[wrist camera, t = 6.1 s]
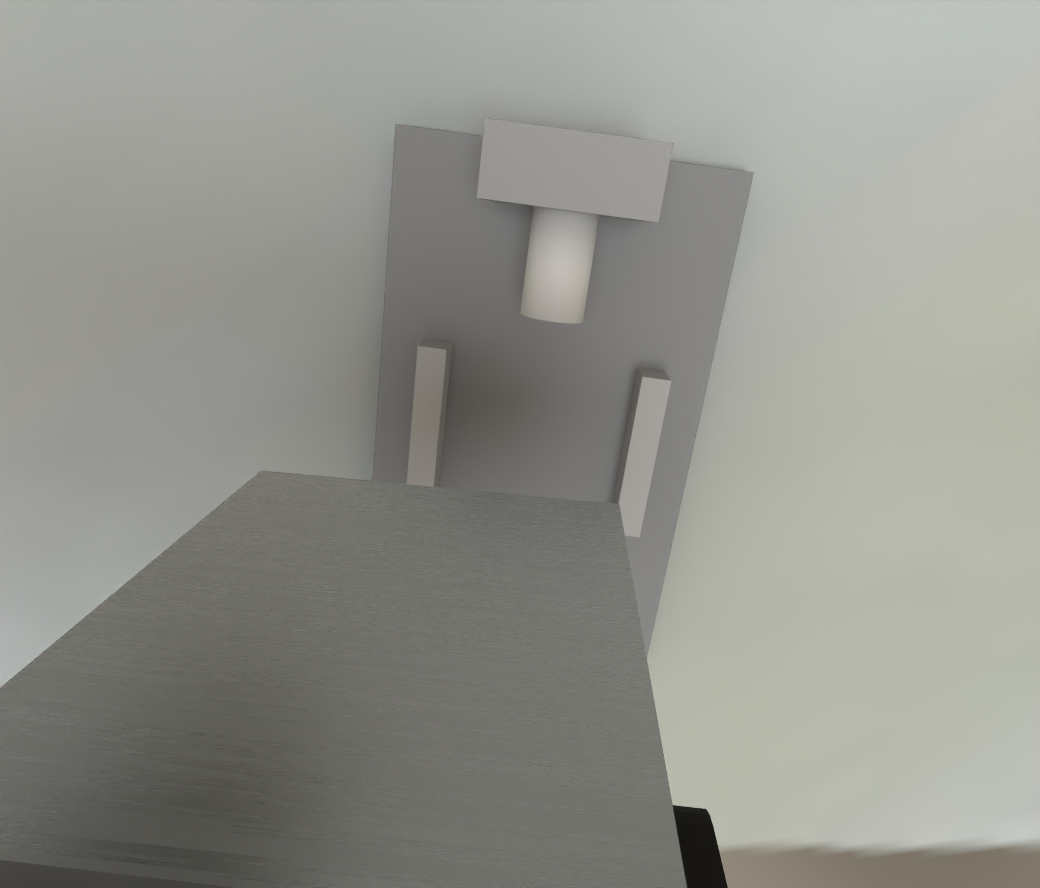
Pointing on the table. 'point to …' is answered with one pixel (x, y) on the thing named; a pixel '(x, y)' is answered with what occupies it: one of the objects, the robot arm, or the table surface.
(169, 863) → the coupler
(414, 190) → the shaft stand
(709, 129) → the table surface
